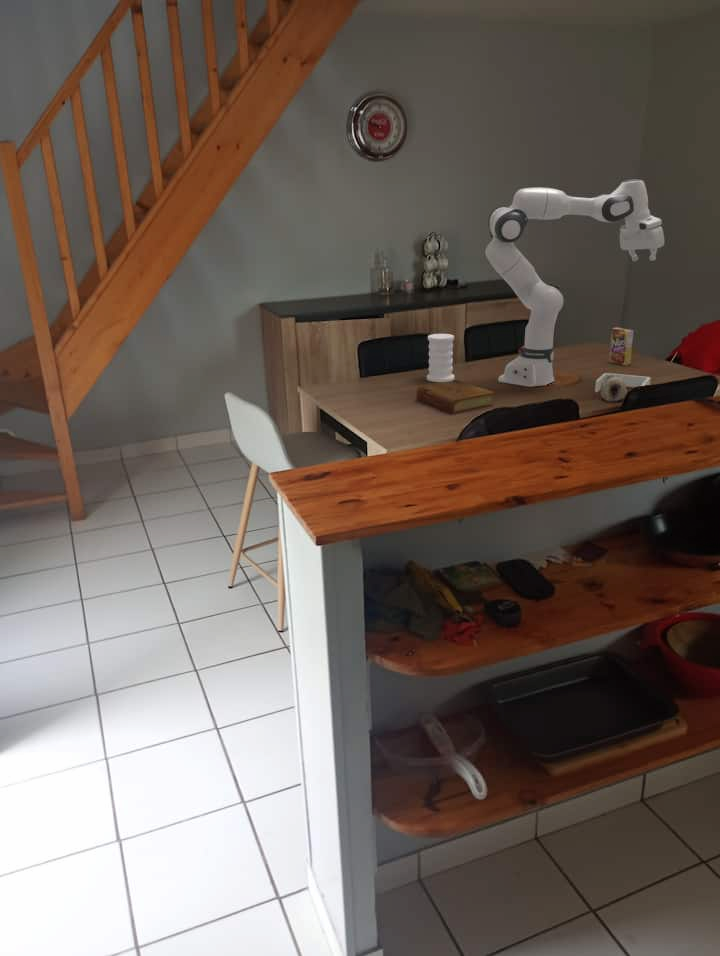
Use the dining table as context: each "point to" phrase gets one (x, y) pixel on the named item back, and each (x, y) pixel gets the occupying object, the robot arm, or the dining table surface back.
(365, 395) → the dining table surface
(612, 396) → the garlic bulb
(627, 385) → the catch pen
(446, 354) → the decorative container
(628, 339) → the candy box
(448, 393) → the diary
